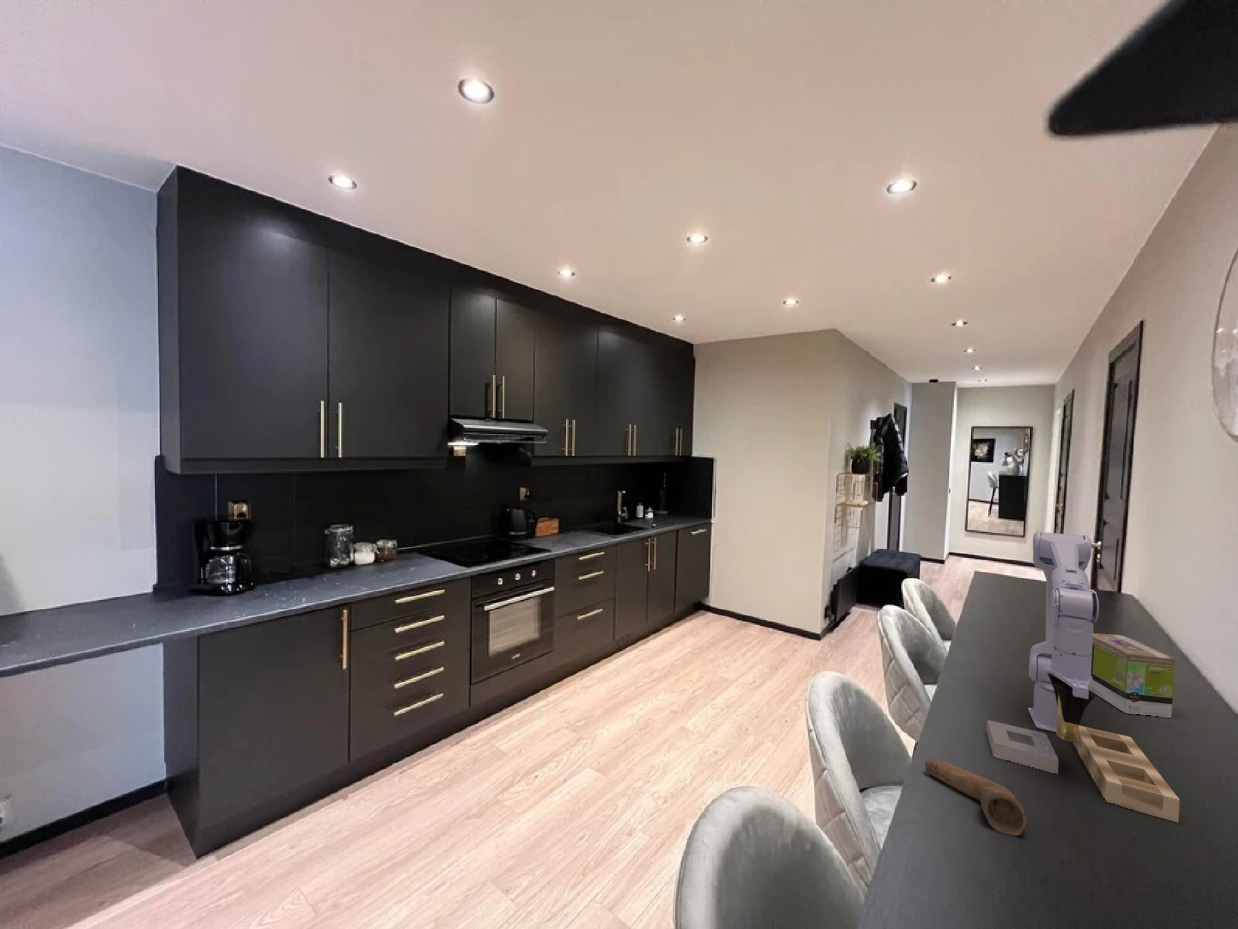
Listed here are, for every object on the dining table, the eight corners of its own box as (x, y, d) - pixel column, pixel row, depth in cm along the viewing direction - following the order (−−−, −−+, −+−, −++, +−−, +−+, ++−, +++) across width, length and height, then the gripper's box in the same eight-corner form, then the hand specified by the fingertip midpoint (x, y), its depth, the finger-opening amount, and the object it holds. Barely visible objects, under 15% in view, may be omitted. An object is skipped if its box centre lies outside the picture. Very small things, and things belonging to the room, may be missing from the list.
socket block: (986, 733, 109) (987, 719, 109) (1045, 747, 104) (1045, 733, 104) (993, 757, 100) (994, 743, 100) (1057, 774, 95) (1058, 759, 95)
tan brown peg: (1054, 731, 99) (1056, 687, 98) (1075, 736, 97) (1077, 691, 97) (1058, 739, 96) (1060, 694, 96) (1080, 744, 94) (1082, 698, 94)
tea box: (1174, 719, 116) (1177, 658, 115) (1123, 714, 118) (1127, 653, 117) (1122, 688, 130) (1125, 634, 130) (1078, 684, 132) (1081, 630, 132)
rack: (1071, 742, 106) (1072, 724, 106) (1129, 756, 101) (1130, 737, 101) (1106, 802, 88) (1107, 781, 88) (1178, 822, 83) (1179, 799, 83)
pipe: (933, 743, 98) (912, 753, 91) (1040, 789, 84) (1024, 805, 78) (930, 776, 97) (908, 789, 91) (1037, 828, 84) (1021, 847, 78)
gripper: (1037, 634, 104) (1034, 696, 105) (1054, 659, 92) (1050, 729, 92) (1081, 641, 101) (1078, 705, 101) (1105, 668, 88) (1101, 741, 89)
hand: (1068, 718), depth 96 cm, fingers closed on tan brown peg, 3 cm apart
